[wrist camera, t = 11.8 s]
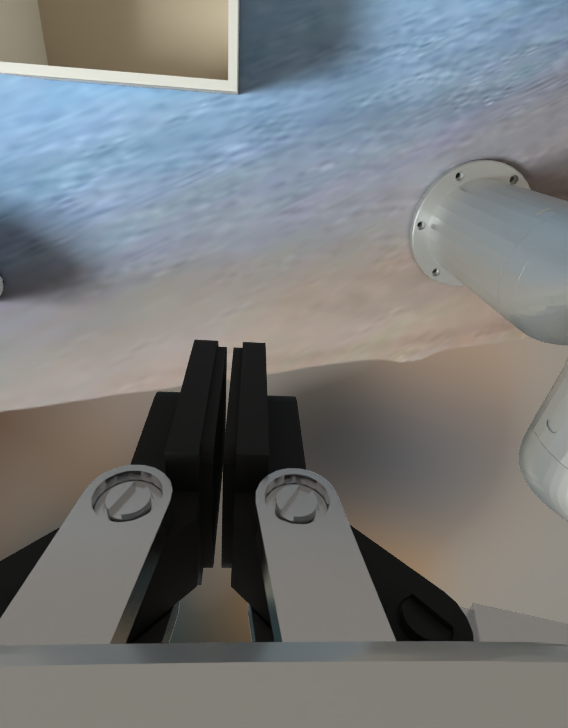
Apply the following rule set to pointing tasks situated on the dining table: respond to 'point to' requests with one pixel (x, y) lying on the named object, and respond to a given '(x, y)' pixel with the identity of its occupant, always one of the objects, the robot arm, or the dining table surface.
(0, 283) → the photo printer
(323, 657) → the robot arm
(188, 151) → the dining table surface
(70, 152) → the dining table surface
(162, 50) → the carton
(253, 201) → the dining table surface
